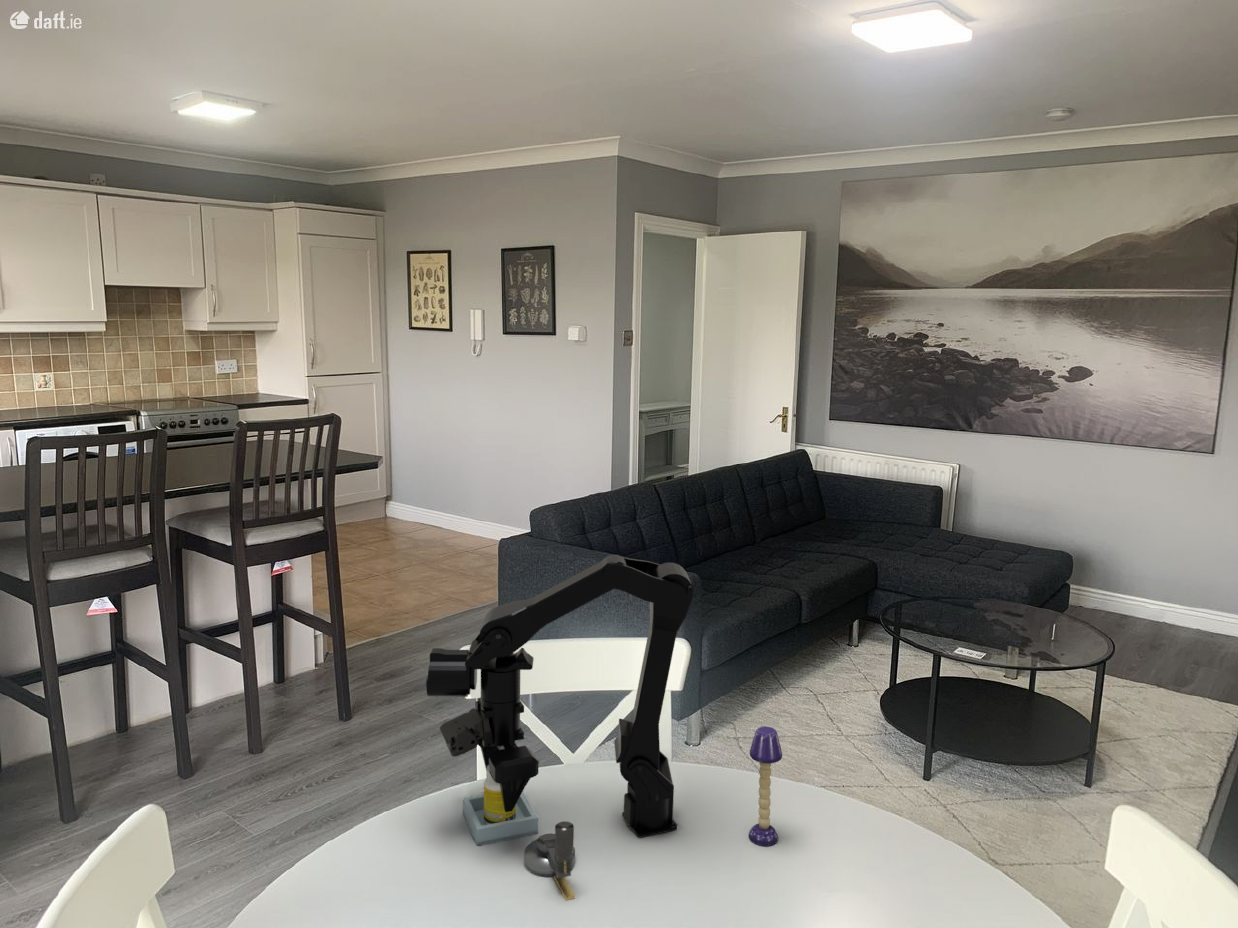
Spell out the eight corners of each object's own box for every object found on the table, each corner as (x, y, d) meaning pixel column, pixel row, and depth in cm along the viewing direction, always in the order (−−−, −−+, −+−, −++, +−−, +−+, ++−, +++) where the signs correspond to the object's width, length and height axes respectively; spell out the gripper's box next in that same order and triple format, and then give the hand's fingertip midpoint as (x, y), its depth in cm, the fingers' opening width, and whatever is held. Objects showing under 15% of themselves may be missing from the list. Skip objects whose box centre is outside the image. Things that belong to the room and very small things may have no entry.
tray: (520, 802, 139) (520, 787, 139) (537, 833, 131) (538, 817, 131) (462, 813, 136) (462, 797, 136) (477, 845, 128) (477, 829, 127)
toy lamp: (741, 841, 131) (747, 733, 128) (749, 824, 135) (755, 720, 132) (774, 849, 129) (780, 740, 126) (781, 832, 133) (787, 726, 130)
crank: (533, 843, 125) (534, 796, 124) (558, 839, 127) (559, 792, 126) (553, 884, 117) (553, 833, 116) (579, 878, 118) (580, 828, 117)
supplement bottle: (509, 830, 131) (509, 777, 129) (479, 826, 132) (478, 773, 130) (520, 813, 135) (520, 761, 134) (490, 809, 136) (490, 757, 135)
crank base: (565, 842, 129) (565, 832, 129) (595, 893, 118) (596, 882, 118) (518, 852, 127) (518, 842, 126) (544, 905, 115) (544, 894, 115)
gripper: (432, 678, 136) (433, 774, 138) (459, 731, 119) (459, 840, 121) (504, 668, 140) (503, 762, 143) (540, 719, 123) (539, 824, 126)
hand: (500, 795), depth 133 cm, fingers open, 9 cm apart
